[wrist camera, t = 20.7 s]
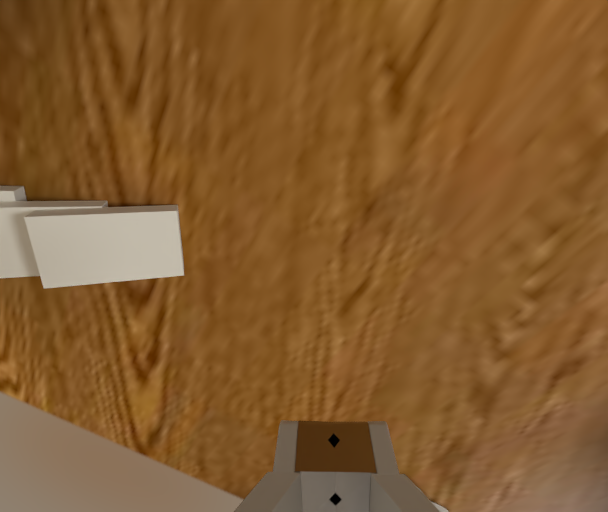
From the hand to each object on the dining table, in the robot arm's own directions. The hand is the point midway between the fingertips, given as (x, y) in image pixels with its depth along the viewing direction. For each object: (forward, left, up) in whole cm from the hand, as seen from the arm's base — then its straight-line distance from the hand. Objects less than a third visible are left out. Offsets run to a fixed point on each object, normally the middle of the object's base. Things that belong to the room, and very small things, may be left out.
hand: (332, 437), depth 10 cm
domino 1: (0, +10, -17) cm, 20 cm away
